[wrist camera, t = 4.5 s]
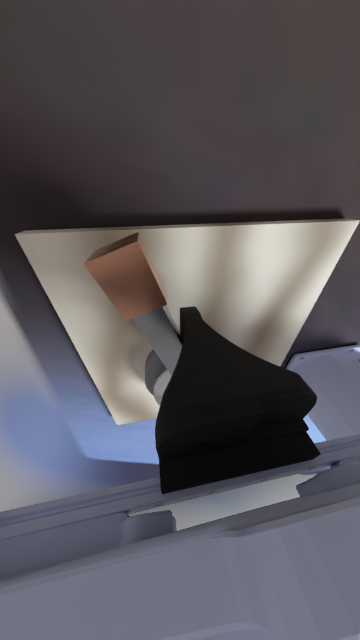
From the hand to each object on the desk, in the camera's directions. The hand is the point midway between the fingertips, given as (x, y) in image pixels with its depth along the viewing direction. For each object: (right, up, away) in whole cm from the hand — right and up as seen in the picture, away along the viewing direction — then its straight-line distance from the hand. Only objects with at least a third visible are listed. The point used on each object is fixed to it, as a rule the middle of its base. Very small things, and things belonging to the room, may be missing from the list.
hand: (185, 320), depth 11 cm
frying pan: (-1, -2, +2) cm, 3 cm away
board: (+1, -3, +6) cm, 7 cm away
